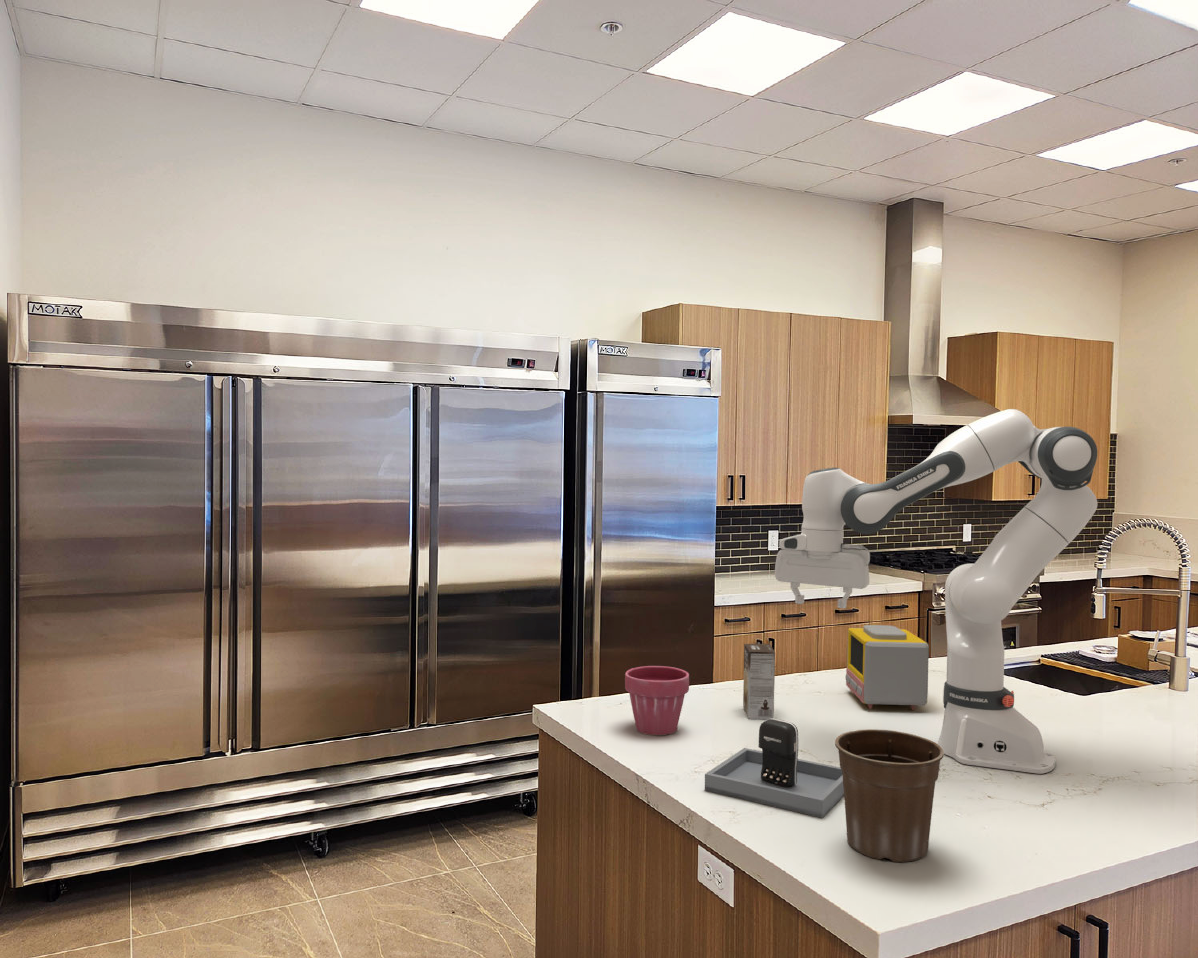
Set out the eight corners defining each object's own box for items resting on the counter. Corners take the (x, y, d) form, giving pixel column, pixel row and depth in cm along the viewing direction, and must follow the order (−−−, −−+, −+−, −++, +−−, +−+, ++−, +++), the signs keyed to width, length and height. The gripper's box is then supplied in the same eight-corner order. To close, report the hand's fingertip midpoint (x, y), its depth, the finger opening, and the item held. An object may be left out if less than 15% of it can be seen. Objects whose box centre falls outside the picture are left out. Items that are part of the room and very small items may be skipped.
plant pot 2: (898, 880, 129) (901, 769, 128) (811, 840, 142) (813, 740, 141) (962, 852, 138) (965, 749, 138) (875, 817, 151) (877, 723, 151)
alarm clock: (843, 690, 235) (844, 621, 235) (904, 692, 234) (905, 622, 234) (862, 712, 215) (864, 636, 215) (928, 713, 215) (930, 637, 214)
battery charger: (754, 780, 166) (756, 719, 165) (766, 775, 168) (767, 715, 168) (787, 790, 161) (789, 727, 161) (798, 785, 164) (800, 723, 163)
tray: (853, 785, 166) (854, 769, 166) (822, 817, 151) (822, 800, 151) (744, 762, 178) (744, 747, 178) (704, 790, 163) (704, 773, 162)
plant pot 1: (616, 735, 194) (617, 677, 194) (633, 717, 208) (634, 663, 207) (681, 742, 190) (682, 682, 190) (693, 724, 203) (694, 668, 203)
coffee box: (742, 708, 217) (743, 642, 217) (768, 708, 217) (769, 643, 216) (747, 719, 208) (748, 650, 207) (775, 719, 208) (776, 651, 207)
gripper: (874, 544, 190) (872, 608, 191) (783, 538, 201) (781, 599, 202) (865, 546, 185) (864, 612, 185) (772, 540, 196) (771, 602, 196)
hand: (820, 605), depth 194 cm, fingers open, 8 cm apart
